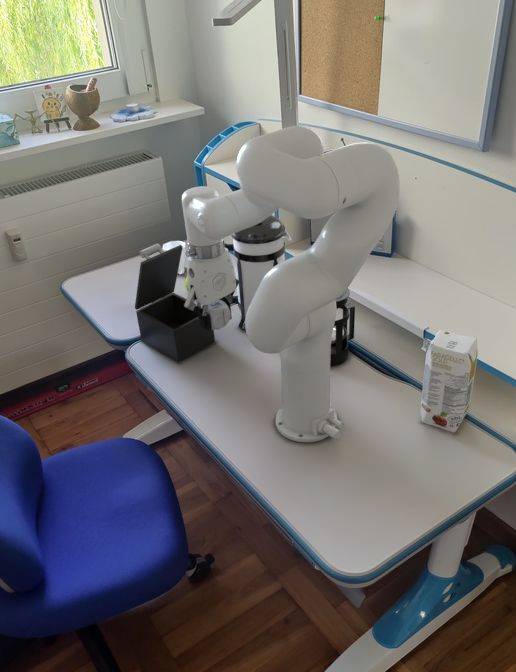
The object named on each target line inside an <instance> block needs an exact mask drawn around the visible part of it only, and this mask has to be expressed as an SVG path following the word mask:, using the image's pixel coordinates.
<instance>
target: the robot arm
mask: <svg viewBox="0 0 516 672" xmlns="http://www.w3.org/2000/svg"><path fill="white" fill-rule="evenodd" d="M236 173H237V177H238V183H239V187H240V188H239V189H237V190H234V191H231V192H228V193H225V194H223V195H220V194H219V192H218V190H217V189H216V188H214V187H212V186H207V185H206V186H203V185H202V186H201V185H199V186H193V187H191V188H188V189H186V190H185V191H184V192H183V193H182V195H181V207H182V213H183V220H184V226H185V233H186V240H187V250H185V257H186V258H187V262H186V263H187V264H186V278H187V280H188V290H189V292H188V295H187V297H186V299H187V300H186V302H185V304H184V307H186V308H188V309H190V310H192V311H195V312H196V313H198V317H199V324H200V327H201V328H203V329H205V330H208V331H210V330H211V329H212V327H211V320H210V315H209V314H207V312H208V305H209V304H211V303H213V302H215V301H217V300H219V299H221V300H222V301H224V302H225V303H226V304H227V306H228V307H229V310H230V313H231V314H232V309H231V304H232V303H231V302H232V296H234V294H235V292H236V289H237V286H238V284H239V280H237V279H236V272H235V267H234V263H233V260H232V256H231V254H230V251H228V249H227V248H225V245H224V244H225V238H227V237H229V236H231V235H232V234H234V233H237V232H239V231H242V230H244V229H247V228H249V227H252V226H254V225H257V224H259V223H260V222H262V221H264V220H265V219H266V218H268V217H269V216H270V215H272V216H273V214H274V213H276V212H277V211H278V210H279V209H282V210H284V211H286V212H288V213H290V214H292V215H294V216H296V217H299V218H302V219H307V220H317V219H323V218H326V217H328V216H330V215H331V216H330V218H329V219H328V220H327V221H326V223H325V224H324V225H323V227H322V229H321V231H320V233H319V235H318V237H317V238H316V239H315V241H314V242H313V244H312V245H311V246H310V247H309V248H308V249H306V250H304V251H302V252H300V253H298V254H296V255H293V256H291V257H290V258H288V259H285V261H283V262H281V263H279V264H277V265H276V266H274V267H273V268H272V269H271V270H269V271H268V273H267V274H266V275H265V276H264V278H263V280H262V281H261V283H260V285H259V287H258V289H257V291H256V294H255V296H254V298H253V300H252V302H251V304H250V306H249V308H248V311H247V314H246V319H245V321H244V323H245V328H246V329H245V333H246V336H247V338H248V341H249V342H250V344H251V345H252V346H253V348H255V349H256V350H257V351H259V352H261V353H264V354H267V355H268V354H269V355H271V354H273V355H274V354H277V353H280V354H279V357H280V380H281V381H280V382H281V401H282V406H281V407H280V408H279V409H278V410H277V413H276V414H275V418H274V419H275V427H276V429H277V431H278V432H279V433H280V434H281V435H282V436H283V437H285V438H287V439H288V440H290V441H295V442H298V443H315V442H319V441H321V440H324V439H326V438H328V437H331V438H332V439H334V440H338V439H339V438H340V437H341V435H342V431H341V430H342V428H343V427H344V425H345V424H344V422H342V421H341V420H339V419H338V414H337V412H336V411H335V408H333V407H332V406H331V367H330V359H331V354H332V353H331V350H332V348H331V347H332V346H331V338H332V332H333V328H334V323H335V321H336V320H337V319H336V318H337V307H336V299H337V298H339V297H340V296H341V295H343V294H344V292H345V291H346V290H347V288H348V289H349V288H350V285H351V284H352V282H353V281H354V279H355V278H356V276H357V274H358V273H359V272H360V270H361V269H362V268H363V266H364V264H365V263H366V261H367V260H368V258H369V257H370V254H371V253H372V252H373V250H374V249H375V247H376V246H377V245H378V243H379V242H380V240H381V239H382V237H383V236H384V235H385V233H386V231H387V230H388V229H389V226H390V224H391V223H392V221H393V218H394V216H395V214H396V211H397V209H398V204H399V201H400V191H401V189H400V187H401V183H400V176H399V175H400V174H399V169H398V167H397V164H396V162H395V159H394V157H393V155H392V154H391V153H390V152H389V150H387V148H385V147H384V146H383V145H380V144H377V143H375V142H368V141H367V142H366V141H365V142H364V141H362V142H354V143H350V144H347V145H343V146H340V147H337V148H335V149H332V150H329V151H326V152H325V145H324V143H323V139H322V138H321V137H320V135H319V134H318V133H317V132H316V131H314V130H313V129H311V128H310V127H306V126H303V125H291V126H287V127H284V128H281V129H277V130H274V131H271V132H267V133H265V134H261V135H257V136H255V137H252V138H250V139H249V140H247V141H246V142H245V143H244V144H243V145H242V147H241V148H240V150H239V151H238V154H237V156H236ZM194 303H195V304H196V305H194ZM202 305H203V306H202ZM201 307H202V309H201ZM232 317H233V316H232V315H231V317H230V321H231V320H232Z"/></svg>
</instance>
